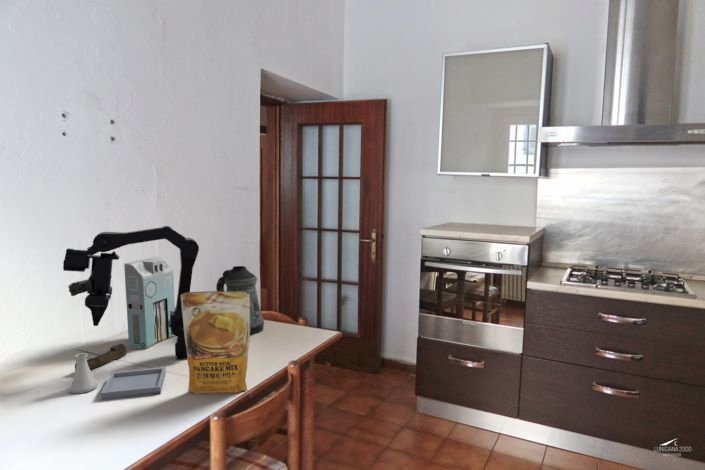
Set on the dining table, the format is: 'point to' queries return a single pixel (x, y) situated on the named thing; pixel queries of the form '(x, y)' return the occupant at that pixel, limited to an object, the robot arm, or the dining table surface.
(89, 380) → the flask
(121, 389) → the parts tray
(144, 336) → the light blue box
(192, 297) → the pancake mix bag
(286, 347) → the dining table surface
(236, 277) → the dark grey coffee pot
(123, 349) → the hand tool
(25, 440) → the dining table surface
